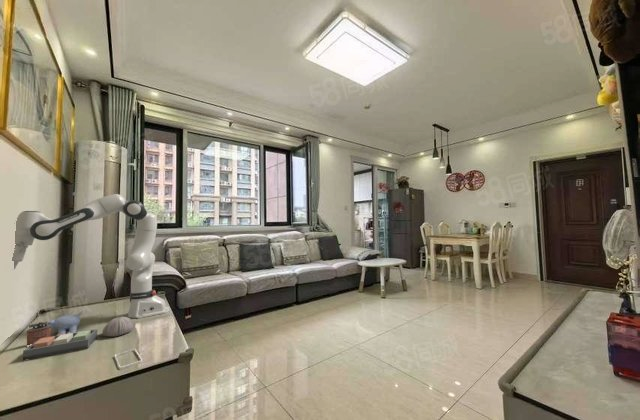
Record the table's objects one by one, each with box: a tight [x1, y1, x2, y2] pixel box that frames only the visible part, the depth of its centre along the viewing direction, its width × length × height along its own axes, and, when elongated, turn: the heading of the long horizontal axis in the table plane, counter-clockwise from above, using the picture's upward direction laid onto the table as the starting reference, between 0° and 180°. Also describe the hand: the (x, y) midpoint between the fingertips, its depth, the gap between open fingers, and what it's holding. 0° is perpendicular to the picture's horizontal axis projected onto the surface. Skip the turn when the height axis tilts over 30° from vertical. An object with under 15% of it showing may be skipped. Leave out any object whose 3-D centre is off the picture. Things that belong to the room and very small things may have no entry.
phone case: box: [114, 348, 143, 370], centre depth 108 cm, size 7×1×15 cm
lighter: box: [26, 321, 52, 345], centre depth 127 cm, size 8×3×10 cm, turn 141°
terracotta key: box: [33, 335, 56, 348], centre depth 118 cm, size 4×7×2 cm, turn 27°
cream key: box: [54, 333, 73, 345], centre depth 121 cm, size 4×7×2 cm, turn 27°
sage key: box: [73, 329, 92, 341], centre depth 124 cm, size 4×7×2 cm, turn 27°
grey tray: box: [22, 328, 98, 361], centre depth 121 cm, size 21×14×4 cm, turn 117°
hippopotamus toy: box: [47, 310, 83, 336], centre depth 140 cm, size 11×15×10 cm
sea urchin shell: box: [102, 316, 136, 338], centre depth 137 cm, size 13×14×8 cm
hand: (11, 266), depth 136 cm, fingers open, 8 cm apart
